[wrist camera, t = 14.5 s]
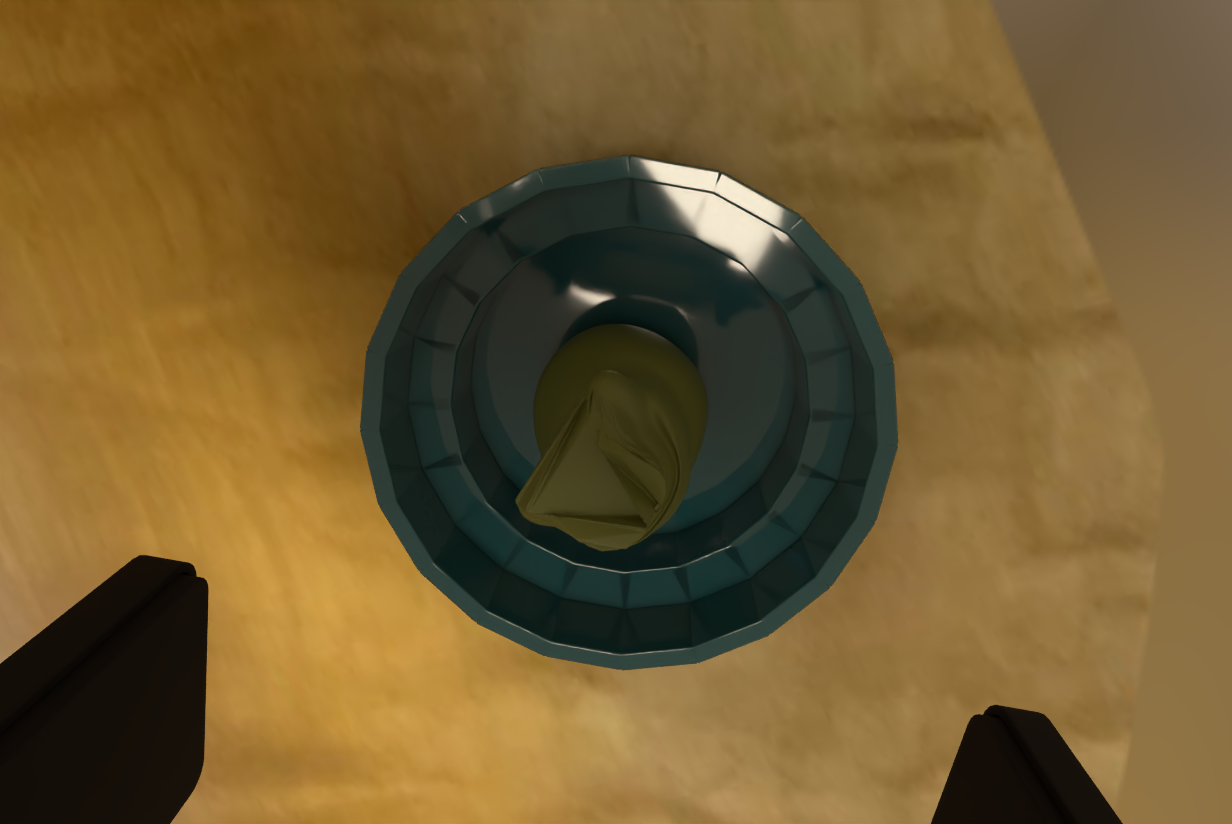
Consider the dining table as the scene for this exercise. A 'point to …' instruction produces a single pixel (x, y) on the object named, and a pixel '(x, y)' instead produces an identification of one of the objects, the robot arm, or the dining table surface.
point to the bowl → (714, 342)
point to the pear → (614, 436)
